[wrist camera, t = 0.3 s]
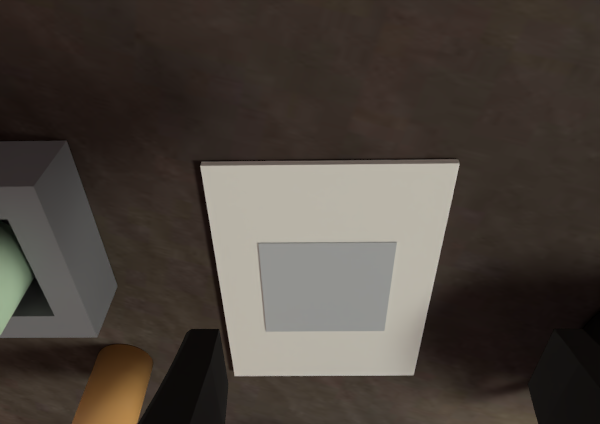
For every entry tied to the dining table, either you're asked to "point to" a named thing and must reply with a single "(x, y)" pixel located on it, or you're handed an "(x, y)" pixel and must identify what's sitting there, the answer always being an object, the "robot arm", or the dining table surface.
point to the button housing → (54, 243)
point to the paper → (327, 261)
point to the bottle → (115, 386)
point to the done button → (12, 274)
